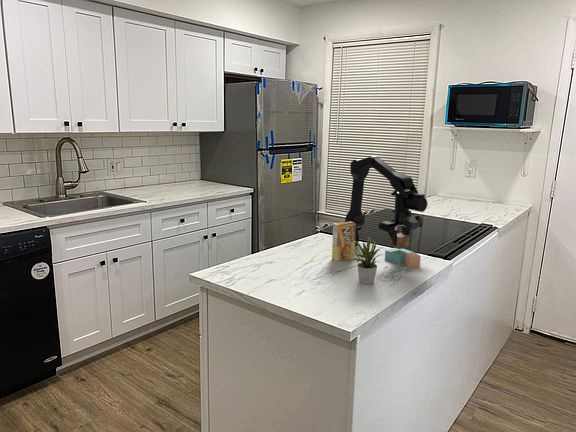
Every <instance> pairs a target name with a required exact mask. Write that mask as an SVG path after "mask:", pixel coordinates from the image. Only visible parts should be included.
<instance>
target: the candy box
mask: <svg viewBox="0 0 576 432" xmlns="http://www.w3.org/2000/svg"><path fill="white" fill-rule="evenodd" d="M355 231H356V223H354V222H351V221H350V222H345V221H343V222H333V223H332V247H331V254H332V255H331V258H332V260H334V261H336V262H340V261H344V260H346V261H347V260H353V259H355V255H352V254H355V253H354V252H356V247H355V246H356V245H355V241H354V240H355ZM352 239H353V240H352ZM352 245H353V246H352ZM354 247H355V248H354ZM353 251H354V252H353ZM351 255H352V256H353V257H352V256H351Z"/></svg>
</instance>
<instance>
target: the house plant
mask: <svg viewBox="0 0 576 432" xmlns="http://www.w3.org/2000/svg"><path fill="white" fill-rule="evenodd" d="M352 240H353V239H352ZM354 241H355V240H354ZM355 242H356V243H357V244H358V245H355V247H354V248H355V250H357V251H358V253H357V252H356V251H355V252H354V251H353V252H354V253H355V254H352V255H354V256H356V257H354V258H353V259H352V262H354V261H356V264H357V273H358V281H359V283H360V284H363V285H372V284H375V278H376V274H377V269H378V265H377V264H376V263H380V261H379V260H378V261H376V260H377V259H376V258H377V257H380V256H384V253H382V254H377V253H378V251H380V249H382V248H383V246H381V247H380V248H377V242H375V240H373V238H371V239H370V236H368V237H367V241H366V243H365V242H364V241H363V242H362V246H361V244H360V242H359V243H358V242H357V241H355ZM371 244H372V245H371ZM352 246H353V245H352ZM357 246H358V247H357ZM376 248H377V249H376ZM375 249H376V250H375ZM376 254H377V255H376ZM352 255H351V256H352ZM352 257H353V256H352Z"/></svg>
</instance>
